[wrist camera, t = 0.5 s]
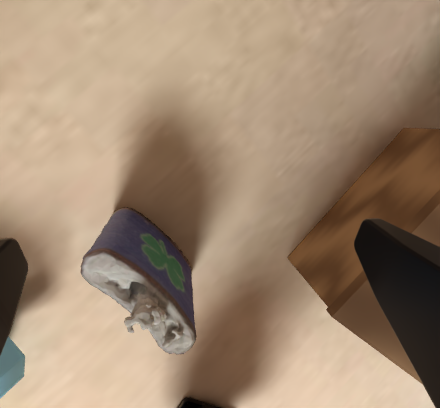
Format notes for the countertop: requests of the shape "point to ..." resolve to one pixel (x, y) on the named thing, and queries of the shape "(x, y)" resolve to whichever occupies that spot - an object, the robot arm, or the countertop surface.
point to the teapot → (10, 366)
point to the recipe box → (349, 225)
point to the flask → (144, 278)
